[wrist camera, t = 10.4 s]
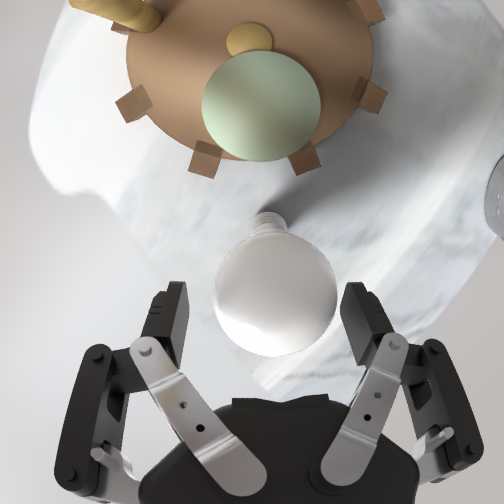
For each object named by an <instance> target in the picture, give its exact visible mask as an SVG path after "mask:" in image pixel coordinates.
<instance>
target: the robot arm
mask: <svg viewBox="0 0 504 504" xmlns="http://www.w3.org/2000/svg"><path fill="white" fill-rule="evenodd" d="M485 215H486V220H487V223H488V225H489V227H490V228H491V229H492V230H493V231H494V232H495V233H496V234H497V235H498V236H500V238H501V239H503V240H504V157H503V158H502V159H501V160H500V161H499V163H498V164H497V166H496V168H495V169H494V171H493V174H492V176H491V178H490V181H489V184H488V188H487V193H486V199H485ZM148 313H149V314H148V315H147V318H146V321H145V324H144V327H143V330H142V333H141V337H140V338H138V339H137V340H135V341H134V342H133V343H132V344H131V346H130V347H129V348H126V349H120V350H114V351H111V349H110V348H109V347H108V346H106V345H104V344H97V345H94V346H91V347H90V348H89V349H88V350H87V351H86V352H85V354H84V357H83V360H82V363H81V366H80V369H79V372H78V375H77V378H76V381H75V384H74V388H73V391H72V395H71V398H70V401H69V405H68V409H67V412H66V416H65V420H64V424H63V429H62V433H61V437H60V441H59V447H58V451H57V456H56V461H55V467H54V476H55V479H56V481H57V482H58V484H59V485H60V486H61V487H63V488H64V489H66V490H68V491H70V492H72V493H74V494H76V495H78V496H80V497H83V498H86V499H88V500H91V501H96V502H99V503H104V504H107V503H111V502H113V503H117V504H415V496H416V492H417V489H418V486H419V485H422V484H425V483H427V482H431V483H438V482H441V481H443V480H445V479H447V478H449V477H451V476H453V475H455V474H457V473H458V472H460V471H462V470H464V469H466V468H467V467H469V466H471V465H473V464H474V463H476V462H477V461H479V460H480V458H481V457H482V455H483V451H484V445H483V442H482V438H481V435H480V432H479V429H478V426H477V423H476V420H475V417H474V414H473V412H472V409H471V406H470V403H469V401H468V398H467V396H466V393H465V391H464V388H463V386H462V383H461V381H460V378H459V376H458V374H457V372H456V369H455V367H454V365H453V363H452V360H451V358H450V356H449V354H448V352H447V350H446V348H445V346H444V345H443V344H442V343H441V342H440V341H438V340H436V339H428V340H426V341H425V342H424V344H423V345H415V344H409V343H408V342H407V340H406V339H405V337H403V336H402V335H400V334H398V333H395V331H394V329H393V327H392V325H391V323H390V321H389V319H388V317H387V315H386V313H385V312H384V309H383V307H382V305H381V303H380V301H379V299H378V298H377V297H376V296H375V295H374V294H373V293H372V292H367V290H366V288H365V286H364V284H363V283H362V282H348V283H347V284H346V287H345V291H344V294H343V298H342V301H341V305H340V316H341V319H342V322H343V324H344V327H345V330H346V333H347V336H348V339H349V342H350V345H351V348H352V351H353V354H354V357H355V360H356V363H357V366H360V365H365V366H366V370H365V372H364V374H363V376H362V378H361V380H360V382H359V384H358V386H357V388H356V390H355V392H354V394H353V396H352V398H351V400H350V401H349V403H348V405H347V406H346V405H344V404H342V403H340V402H337V401H332V400H329V397H328V394H320V395H309V396H303V397H300V398H297V399H293V400H290V401H286V402H282V403H280V402H273V401H268V400H263V399H258V398H232V404H231V405H227V406H223V407H221V408H219V409H216V410H215V411H212V410H211V408H210V407H209V406H208V405H207V403H206V402H205V401H204V399H203V398H202V397H201V396H200V394H199V393H198V392H197V390H196V389H195V388H194V387H193V385H192V384H191V383H190V381H189V380H188V379H187V377H186V376H185V375H184V374H183V373H180V372H179V371H178V369H180V363H181V358H182V352H183V346H184V340H185V335H186V329H187V324H188V319H189V301H188V295H187V288H186V283H185V282H178V281H170V282H169V285H168V289H167V292H165V291H160V292H159V293H158V294H157V295H156V296H155V297H154V298H153V301H152V304H151V308H150V309H149V312H148ZM429 383H430V384H429ZM400 385H402V387H403V390H404V393H405V397H406V400H407V404H408V407H409V411H410V414H411V418H412V422H413V425H414V429H415V433H416V437H417V441H416V442H415V444H414V447H413V454H412V456H411V455H410V454H408V453H407V452H406V451H404V450H403V449H402V448H400V447H399V446H398V445H396V444H395V443H393V442H392V441H391V440H390V439H389V438H387V437H386V436H385V435H383V434H382V433H381V432H382V429H383V427H384V425H385V422H386V420H387V418H388V415H389V413H390V410H391V408H392V405H393V402H394V399H395V397H396V394H397V391H398V388H399V386H400ZM430 386H431V387H430ZM431 389H432V390H431ZM146 390H148V391H149V393H150V394H151V396H152V398H153V400H154V401H155V403H156V405H157V406H158V408H159V409H160V411H161V413H162V414H163V416H164V417H165V419H166V421H167V422H168V424H169V425H170V427H171V428H172V430H173V431H174V433H175V434H176V436H177V437H178V439H179V440H180V441H181V442H180V443H179V444H178V445H177V446H176V447H175V448H174V449H173V450H172V451H171V452H170V453H169V454H168V455H166V456H165V457H164V458H163V459H162V460H161V461H160V462H159V463H158V464H157V465H156V466H154V467H153V468H152V469H151V470H150V471H149V472H148V473H147V474H146V475H145V476H144V477H143V479H142V480H141V482H140V481H137V480H136V478H135V477H134V475H133V470H132V464H131V462H130V460H129V459H128V458H127V457H126V456H125V455H124V454H122V453H121V447H122V439H123V432H124V426H125V418H126V413H127V407H128V401H129V395H130V393H134V392H140V391H146Z"/></svg>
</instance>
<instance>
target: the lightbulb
mask: <svg viewBox="0 0 504 504" xmlns="http://www.w3.org/2000/svg"><path fill="white" fill-rule="evenodd" d="M337 300H338V287H337V281H336V277H335V274H334V271H333V269H332V266H331V265H330V263H329V261H328V260H327V258H326V257H325V255H324V254H323V253H322V252H321V251H320V250H319V249H318V248H317V247H316V246H315V245H313V244H312V243H311V242H309V241H308V240H306V239H304V238H302V237H300V236H297V235H294V234H291V233H288V230H287V226H286V222H285V220H284V219H283V218H282V217H281V216H280V215H279V214H277V213H274V212H263V213H260V214H258V215H257V216H255V217H254V218H253V220H252V221H251V223H250V227H249V238H247V239H245V240H243V241H242V242H240V243H239V244H238V245H236V246H235V247H234V248H233V249H232V250H231V251H230V252H229V253H228V254H227V255H226V256H225V258H224V259H223V261H222V262H221V264H220V266H219V268H218V270H217V273H216V276H215V279H214V284H213V305H214V310H215V314H216V317H217V319H218V321H219V323H220V325H221V327H222V328H223V330H224V331H225V333H226V334H227V335H228V336H229V337H230V338H231V339H232V340H233V341H234V342H235V343H236V344H238V345H239V346H240V347H242V348H244V349H246V350H248V351H250V352H252V353H255V354H258V355H262V356H270V357H280V356H287V355H291V354H295V353H298V352H300V351H302V350H304V349H306V348H308V347H309V346H311V345H312V344H314V343H315V342H316V341H317V340H318V339H319V338H320V337H321V336H322V335H323V334H324V333H325V331H326V330H327V328H328V327H329V325H330V323H331V321H332V319H333V317H334V314H335V311H336V307H337Z"/></svg>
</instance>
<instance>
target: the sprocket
mask: <svg viewBox="0 0 504 504" xmlns="http://www.w3.org/2000/svg"><path fill="white" fill-rule="evenodd" d="M69 3H70V5H71V6H72V7H73V8H76V9H79V10H83V11H86V12H89V13H92V14H95V15H98V16H101V17H103V18H106V19H109V20H111V21H114V22H113V25H112V27H111V30H112V31H115V32H118V33H121V34H124V35H129V36H128V41H127V49H126V63H127V70H128V76H129V80H130V83H131V86H132V89H133V90H132V91H130V92H129V93H127V94H126V95H124V96H123V97H122V98H120V99H119V100H117V101H116V102H115V103H116V105H117V107H118V109H119V111H120V112H121V114H122V116H123V118H124V120H125V121H126V123H129V122H132V121H135V120H138V119H140V118H142V117H143V116H145V115H146V114H147V115H148V116H149V117H150V119H151V120H152V121H153V122H154V123H155V124H156V125H157V126H158V127H159V128H160V129H161V130H163V131H164V132H165V133H166V134H167V135H169V136H170V137H172V138H173V139H175V140H176V141H178V142H179V143H181V144H183V145H185V146H187V147H189V148H191V149H193V150H194V152H193V156H192V159H191V162H190V165H189V169H188V171H189V172H192V173H196V174H199V175H202V176H205V177H209V178H212V179H214V176H215V174H216V171H217V169H218V166H219V163H220V160H221V158H222V159H230V160H237V161H255V162H267V161H274V160H279V159H281V158H284V157H288V159H289V161H290V164H291V166H292V168H293V170H294V172H295V174H296V176H298V175H300V174H303V173H305V172H308V171H310V170H313V169H315V168H318V167H321V164H320V161H319V159H318V156H317V153H316V151H315V148H314V145H316V144H317V143H319V142H321V141H322V140H324V139H325V138H327V137H329V136H330V135H331V134H332V133H333V132H335V131H336V130H337V129H338V128H340V127H341V126H342V125H343V124H344V123H345V121H346V120H347V119H348V118H349V117H350V116H351V115H352V113H353V112H354V111H355V109H356V108H357V106H358V107H359V108H361V109H363V110H365V111H368V112H372V113H376V114H378V113H379V111H380V109H381V107H382V104H383V102H384V100H385V98H386V95H387V93H388V92H387V91H385V90H384V89H382V88H380V87H379V86H377V85H375V84H374V83H372V82H370V81H369V80H370V76H371V71H372V64H373V47H372V38H371V34H370V30H369V27H368V26H370V25H374V24H376V23H379V22H381V21H384V20H386V19H385V17H384V15H383V13H382V11H381V9H380V7H379V5H378V3H377V1H376V0H144V1H143V0H69Z"/></svg>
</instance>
